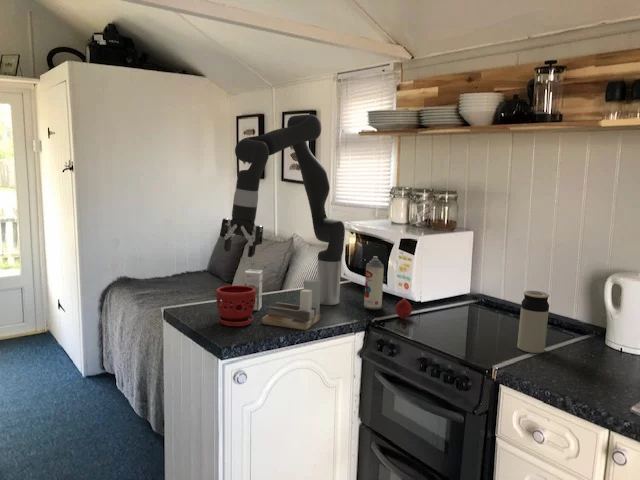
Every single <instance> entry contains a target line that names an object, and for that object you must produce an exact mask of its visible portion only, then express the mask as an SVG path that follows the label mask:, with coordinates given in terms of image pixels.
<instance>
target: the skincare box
mask: <svg viewBox="0 0 640 480" xmlns="http://www.w3.org/2000/svg"><path fill="white" fill-rule="evenodd" d="M303 289H307V290H312V307H316V313H319V314H320V311H321V310H320V308H321V307H320V306H321V304H320V280H317V279H314V278H313V279H308V278H307V279H306V278H305V279H303Z"/></svg>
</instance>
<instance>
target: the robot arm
mask: <svg viewBox="0 0 640 480" xmlns="http://www.w3.org/2000/svg"><path fill="white" fill-rule="evenodd" d="M286 124H287V125H286V127H282V128H278V129H273V130H271V131H269V132H268V131H267V132H266V133H264V134H261V135H254V136H249V137H244V138H242V139H240V140H239V141H238V142H237V143H236V144H235V147H234V154H235V157H236V158H237V159H238V160H239V161H240V162H243V163H248V164H249V163H250V166H249V167H248V169H242V170H240V171H238V173H237V179H236V183H235V184H236V185H235V192H234V196H233V200H232V201H233V203H232V210H231V219H230V218H227V217H225V218H222V222H221V226H220V233H219V236H220V237H221V238H223V239H224V245H223V249H224V252H225V253H226V252H227V253H228V252H231V248H232V238H233V237H235V236H241V237H245V239H246V240H247V242H248V244H249V245H248V250H247V257H248V258H252V257H253V256H255V255H256V248H257V246H258V245H262V244H263V235H264V225H256V224H255V221H256V217H257V211H258V210H257V208H258V202H259V190H260V189H259V188H260V182H261V181H260V180H261V178H262V174H263V173H264V170H265V168H266V165H267V163H268V160H269V157H270V156H273V155H275V154H277V153H279V152H281V151H283V150H286V149H287V148H290V147H292V149H293V152H294V154H295V156H296V160H297V163H298V167H299V170H300V173H301V178H302V182H303V186H304V190H305V193H306V196H307V200H308V204H309V209H310V210H309V211H310V214H311V220H312V221H311V222H312V227H313V232H314V236H315V238H316V239H317V240H318V241H320V242H323V243H328V244H327V247H326V249H325V250H321V251H318V253H317V265H316V266H317V268H316V269H317V271H316V272H317V273H316V280H320V305H324V306H334V305H338V304H339V303H340V293H341V292H340V289H341V269H342V268H341V267H342V256H343V252H344V248H345V247H344V246H345V245H344V244H345V236H346V235H345V234H346V229H345V224H344V222H343V221H342V220H339V219H332V218H328V216H327V213H326V208H325V207H326V206H325V205H326V201H327V199H328V196H329V193H330V183H329V182H330V181H329V178H328V174H327V171H326V169H325V167H324V166H323V164H321V162H320V161H319V160H318V159H317V158H316V157H315V156H314V154H313V153H312V151H311V150H310V147H309V145H308V142H312V141H315V140H317V139H318V138H319V137H320V135H321V134H322V127H323V126H322V122H321V120H320V118H319V117H318V116H317V115H316V114H298V115H291V116H290V117H289V118H288V120H287V123H286ZM229 226H231V228H230V229H229ZM254 232H255V235H254Z"/></svg>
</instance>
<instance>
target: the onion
mask: <svg viewBox="0 0 640 480" xmlns="http://www.w3.org/2000/svg"><path fill="white" fill-rule="evenodd" d="M412 308H413V307H412V305H411V303H410V302H409V301H408V300H407V298H406V297H403V298H402V299H401V300H399V302H397V303H396V305H395V308H394V309H395V310H394V311H395V314H396V315H397V316H398V317H399V318H400V319H401V320H405V319H406V318H408V317H409V316H410V315H411V314H412V311H413V309H412Z"/></svg>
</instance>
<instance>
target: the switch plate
mask: <svg viewBox="0 0 640 480" xmlns="http://www.w3.org/2000/svg"><path fill="white" fill-rule="evenodd" d="M299 309H300V304H293V303H284V302H278V301H276V302H275V303H274V306H268V307H267V314H266V315H264V316H263V317H261V324H264V325H269V326H274V327H275V326H276V327H277V326H278V327H283V328H288V329H289V328H290V329H295V330H296V329H297V330H304V331H307V330H308V329H310V327H312V326H313V325H314V324H315V323H317V322H319V321H320V320H321V313H320V312H319V313H316V307H312V308H311V310H315V311H314V317H313V318H312V319H310V312H307V311H300V310H299Z"/></svg>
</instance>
